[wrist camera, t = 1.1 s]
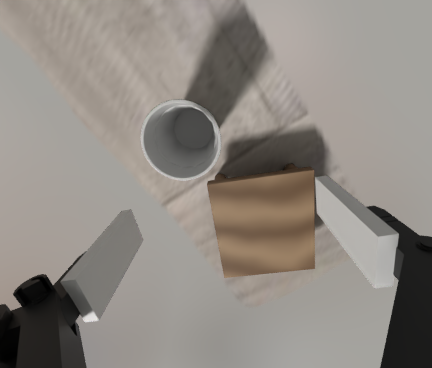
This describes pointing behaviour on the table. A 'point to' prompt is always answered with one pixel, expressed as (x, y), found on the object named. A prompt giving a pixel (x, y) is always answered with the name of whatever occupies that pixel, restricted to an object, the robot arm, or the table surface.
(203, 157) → the cup
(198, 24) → the table surface
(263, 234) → the low wooden table
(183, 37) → the table surface
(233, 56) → the table surface
